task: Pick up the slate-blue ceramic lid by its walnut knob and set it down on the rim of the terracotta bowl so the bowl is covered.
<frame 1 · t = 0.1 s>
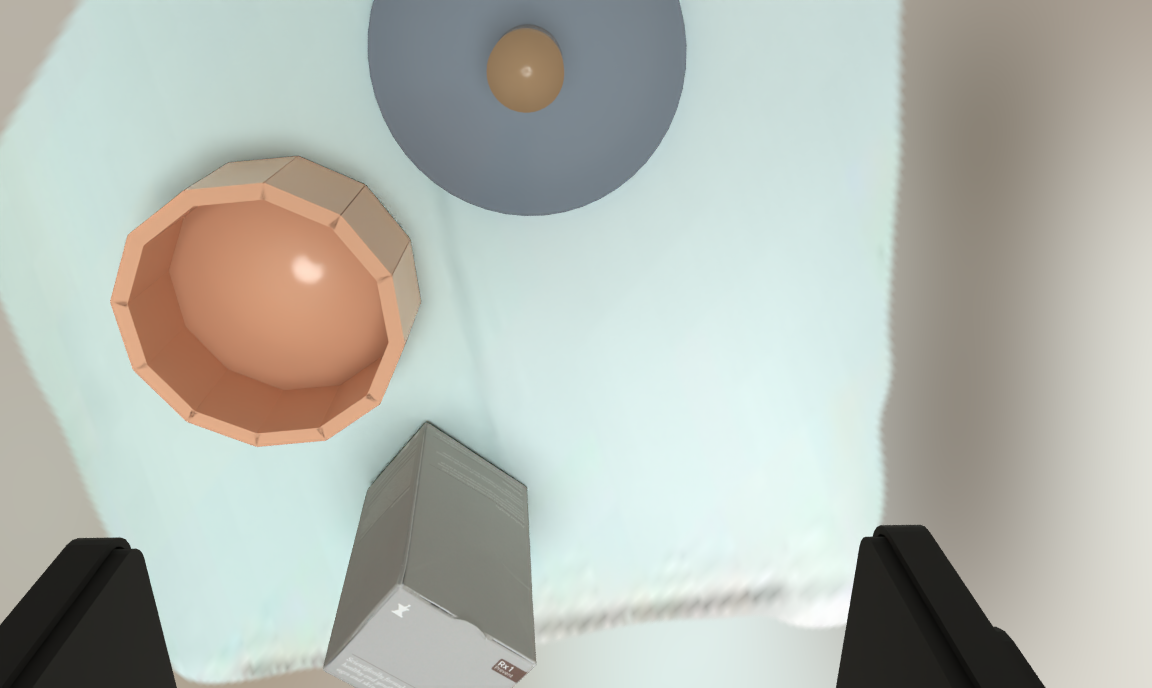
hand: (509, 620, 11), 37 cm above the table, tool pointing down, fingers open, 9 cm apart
skincare box: (455, 482, 54), on the table
lid: (528, 58, 44), on the table
bowl: (292, 282, 48), on the table
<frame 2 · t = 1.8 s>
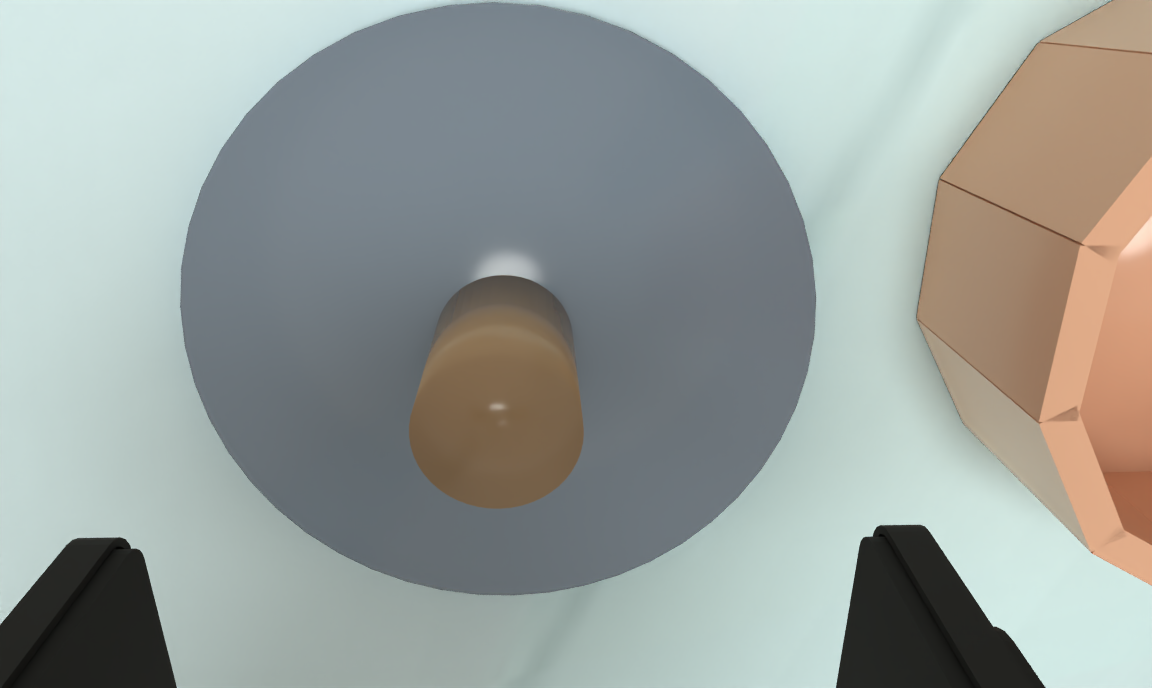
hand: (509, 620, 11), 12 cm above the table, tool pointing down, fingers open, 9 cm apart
lid: (505, 323, 23), on the table
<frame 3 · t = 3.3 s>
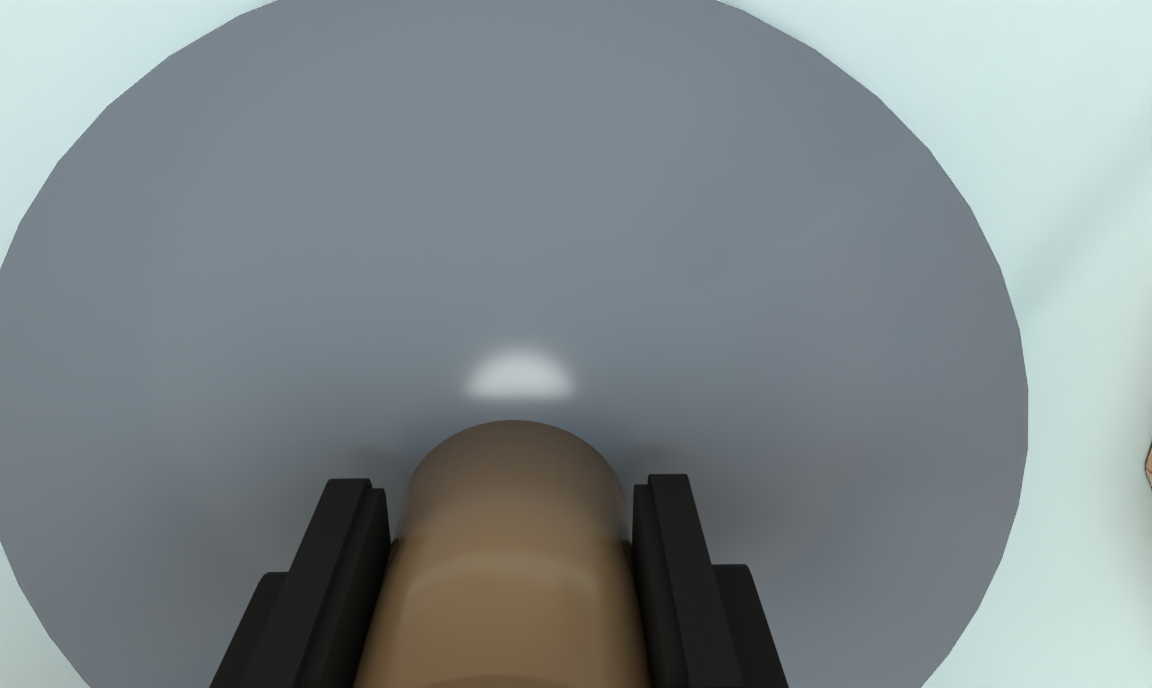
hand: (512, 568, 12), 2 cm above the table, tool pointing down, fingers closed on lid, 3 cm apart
lid: (517, 476, 14), on the table, touching gripper
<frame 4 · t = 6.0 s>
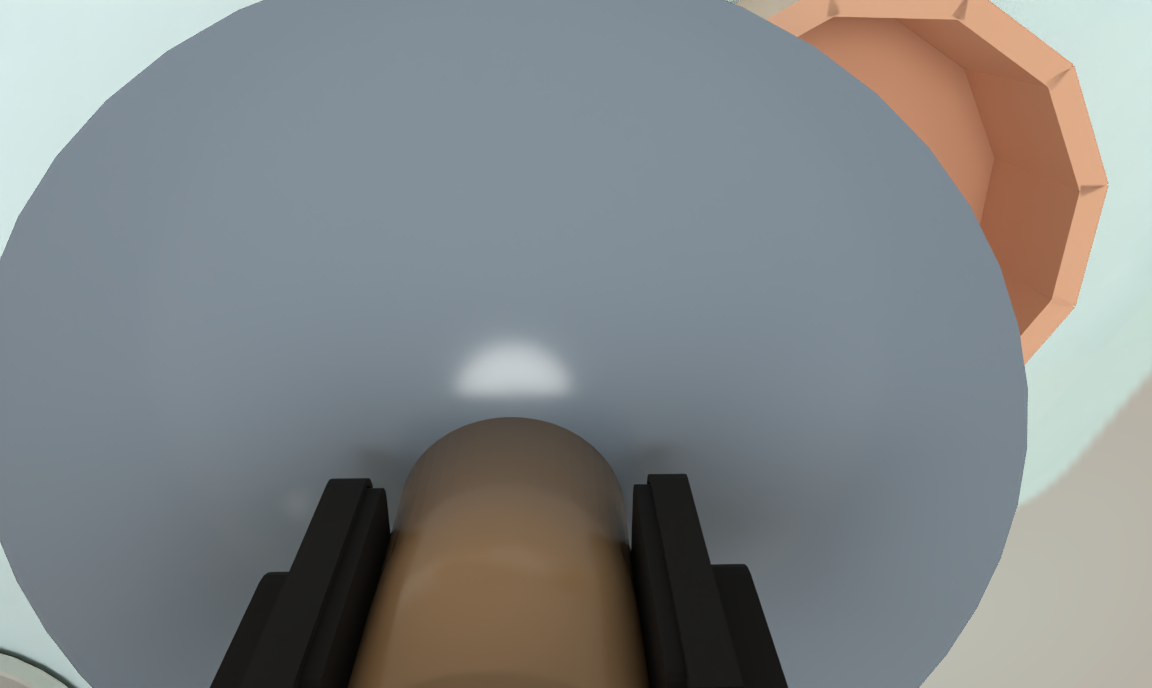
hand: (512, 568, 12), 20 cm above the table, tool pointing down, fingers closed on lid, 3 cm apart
lid: (515, 474, 14), point 17 cm above the table, touching gripper
bowl: (801, 196, 30), on the table
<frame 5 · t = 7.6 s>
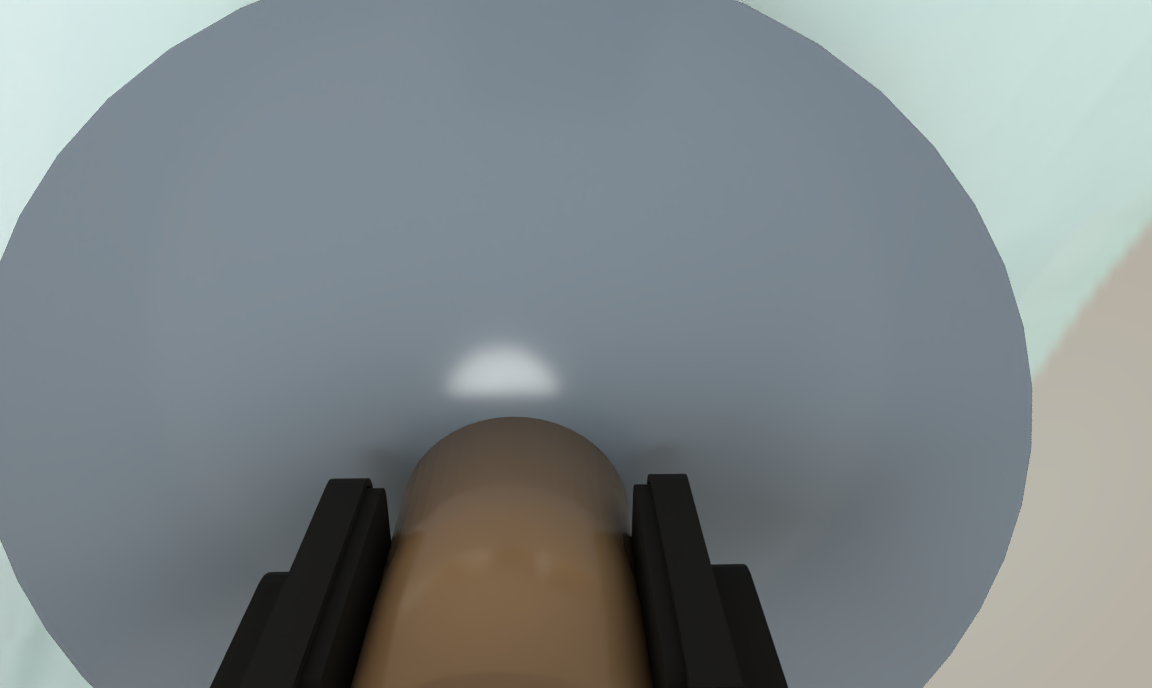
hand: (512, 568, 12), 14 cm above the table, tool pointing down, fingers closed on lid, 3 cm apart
lid: (518, 473, 14), point 12 cm above the table, touching gripper
when the fingers open (10 cm above the table, at t = 8.7 s): lid drops 1 cm, resting on bowl.
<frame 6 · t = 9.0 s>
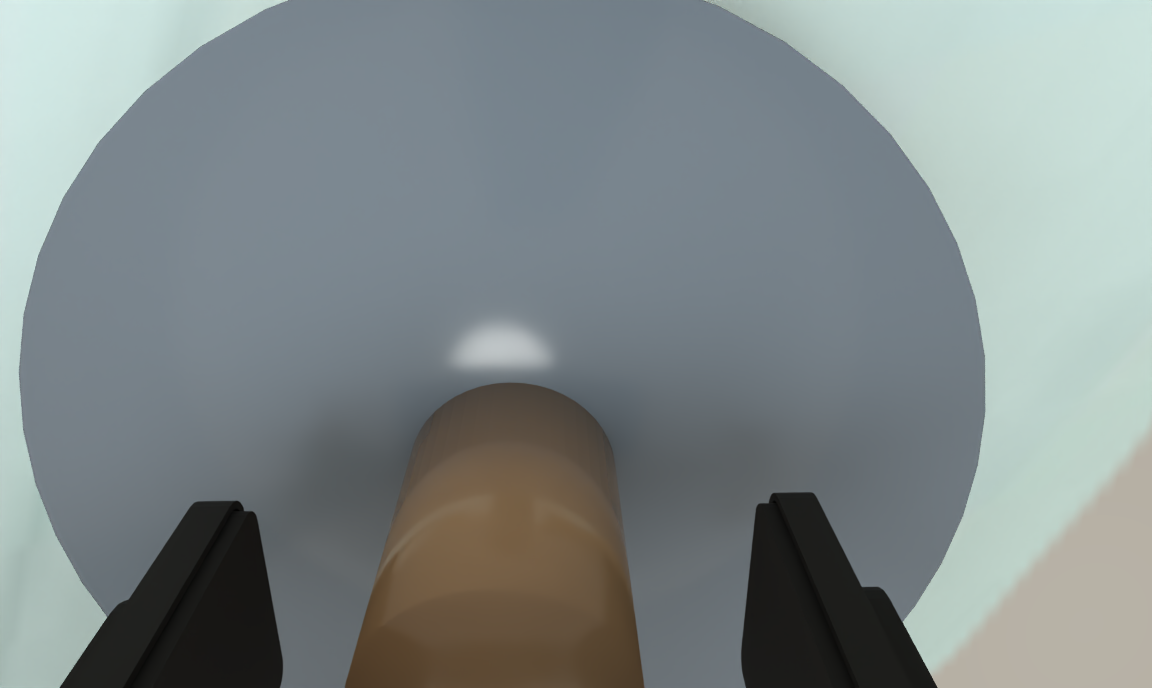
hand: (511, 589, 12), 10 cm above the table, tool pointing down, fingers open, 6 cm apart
lid: (515, 438, 16), point 6 cm above the table, touching bowl
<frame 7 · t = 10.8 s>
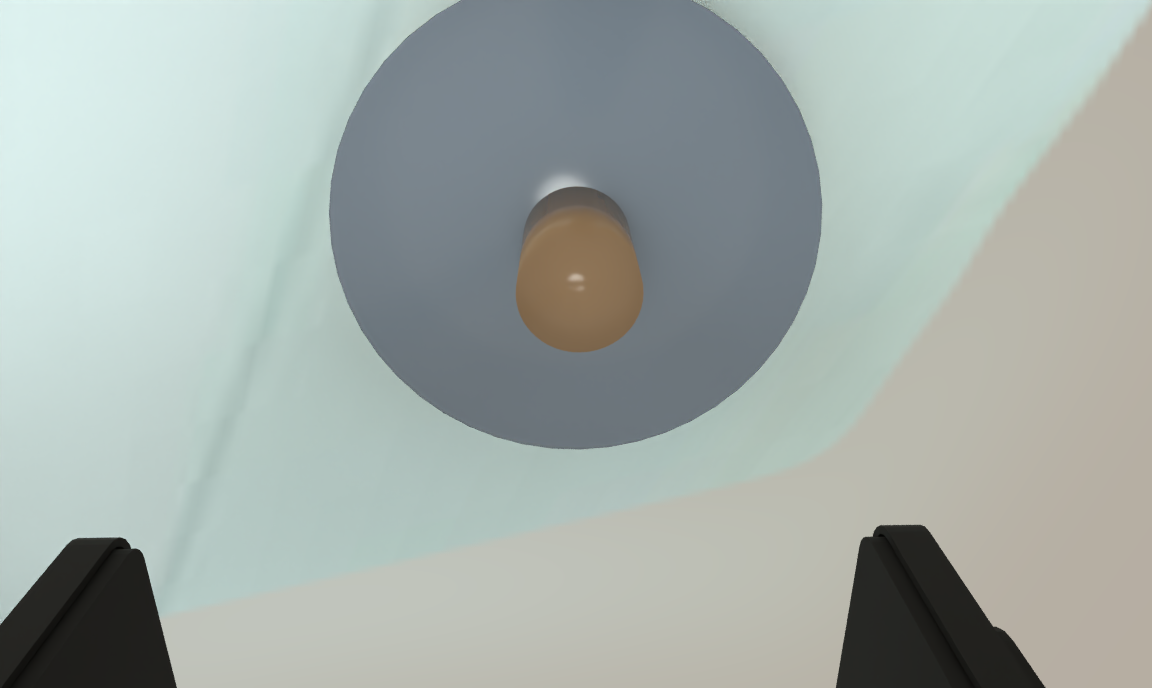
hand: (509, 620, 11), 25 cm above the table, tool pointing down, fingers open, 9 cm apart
lid: (576, 228, 29), point 6 cm above the table, touching bowl
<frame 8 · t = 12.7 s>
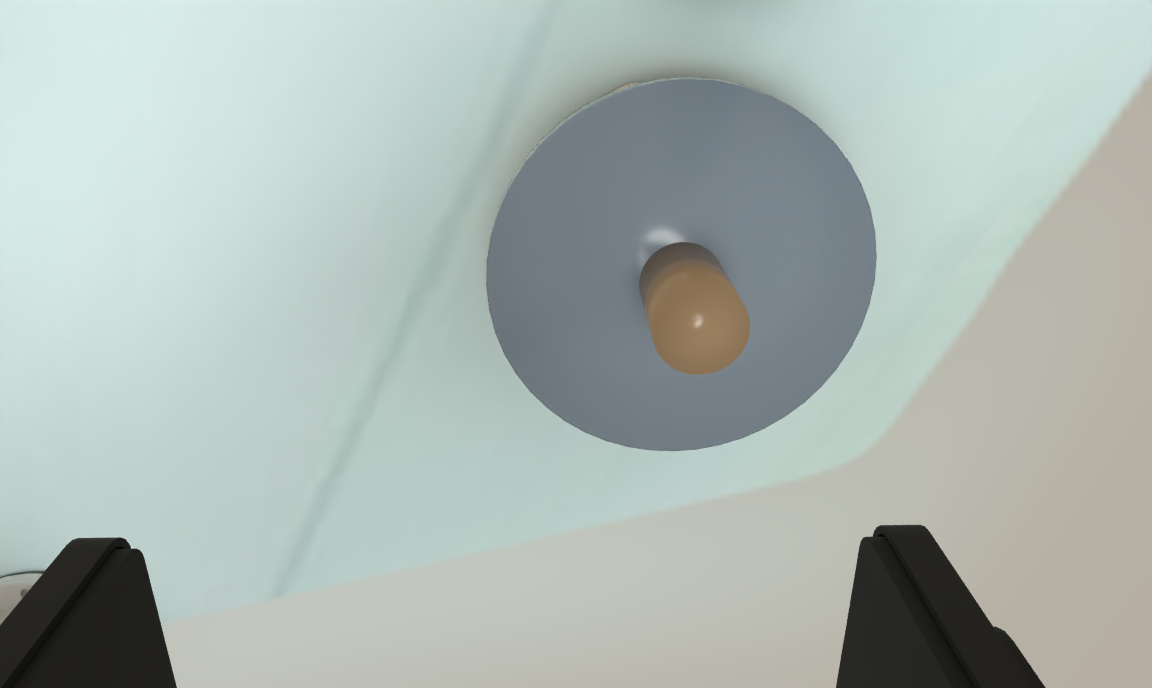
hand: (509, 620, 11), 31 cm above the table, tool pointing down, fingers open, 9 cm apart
lid: (677, 273, 36), point 6 cm above the table, touching bowl
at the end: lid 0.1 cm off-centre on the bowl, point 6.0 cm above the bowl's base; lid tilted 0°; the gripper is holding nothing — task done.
